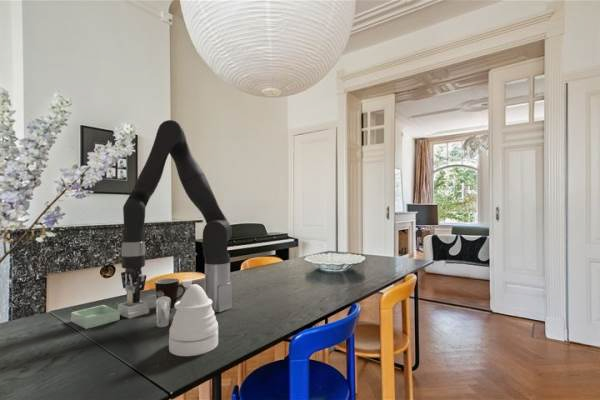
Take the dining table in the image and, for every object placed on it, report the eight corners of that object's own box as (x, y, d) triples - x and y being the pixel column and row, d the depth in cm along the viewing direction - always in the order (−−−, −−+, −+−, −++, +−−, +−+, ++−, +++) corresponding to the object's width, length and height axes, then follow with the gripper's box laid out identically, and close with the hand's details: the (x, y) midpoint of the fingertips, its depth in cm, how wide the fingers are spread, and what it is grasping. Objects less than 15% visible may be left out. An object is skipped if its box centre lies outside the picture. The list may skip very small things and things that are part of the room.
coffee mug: (150, 307, 120) (151, 281, 120) (172, 302, 126) (173, 277, 127) (164, 314, 112) (164, 285, 112) (186, 308, 118) (187, 281, 119)
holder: (149, 312, 113) (149, 303, 114) (129, 318, 108) (129, 308, 108) (136, 308, 119) (136, 299, 119) (116, 313, 113) (116, 303, 113)
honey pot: (169, 360, 78) (169, 287, 78) (168, 340, 90) (169, 277, 90) (221, 350, 83) (222, 282, 83) (214, 333, 95) (214, 273, 95)
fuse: (141, 308, 114) (142, 283, 114) (130, 311, 110) (130, 286, 110) (135, 306, 116) (136, 282, 116) (124, 309, 113) (124, 284, 113)
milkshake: (152, 324, 102) (152, 293, 102) (170, 322, 104) (170, 291, 104) (152, 329, 98) (152, 297, 98) (170, 326, 100) (170, 295, 100)
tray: (119, 319, 106) (119, 310, 107) (86, 329, 98) (86, 319, 98) (103, 313, 113) (103, 304, 113) (71, 321, 105) (71, 312, 105)
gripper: (154, 254, 113) (153, 302, 112) (134, 251, 121) (133, 296, 120) (133, 257, 107) (132, 307, 106) (113, 253, 115) (112, 301, 114)
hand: (133, 301), depth 113 cm, fingers closed on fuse, 3 cm apart
